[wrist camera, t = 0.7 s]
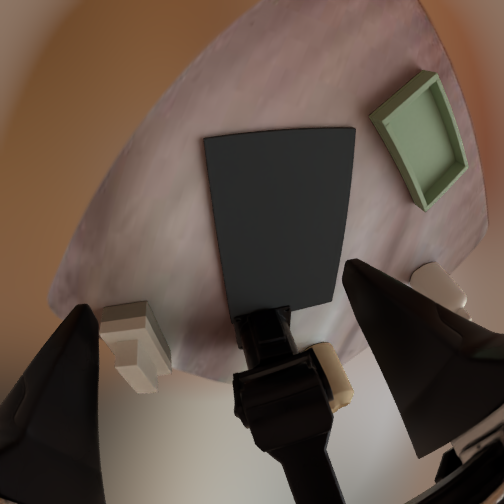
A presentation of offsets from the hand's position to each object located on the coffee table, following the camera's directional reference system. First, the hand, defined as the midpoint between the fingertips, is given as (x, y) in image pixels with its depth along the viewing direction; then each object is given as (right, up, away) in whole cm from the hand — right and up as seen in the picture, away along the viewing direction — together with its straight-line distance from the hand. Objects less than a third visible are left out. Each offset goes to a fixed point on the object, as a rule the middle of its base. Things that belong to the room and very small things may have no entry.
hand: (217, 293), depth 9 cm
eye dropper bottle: (+26, -1, +26) cm, 36 cm away
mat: (+4, +3, +17) cm, 17 cm away
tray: (+18, +12, +13) cm, 25 cm away
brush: (-11, -7, +20) cm, 24 cm away
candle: (+11, -14, +31) cm, 35 cm away
